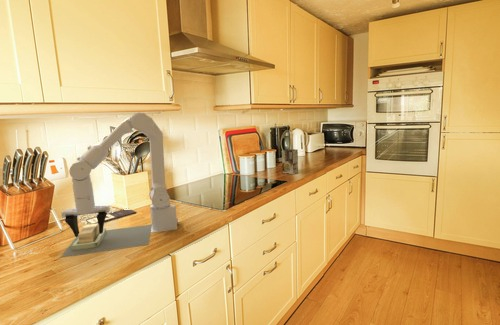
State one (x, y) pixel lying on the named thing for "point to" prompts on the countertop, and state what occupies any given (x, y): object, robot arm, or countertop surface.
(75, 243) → the sage frame
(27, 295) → the countertop surface
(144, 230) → the rubber mat
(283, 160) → the coffee box
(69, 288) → the countertop surface
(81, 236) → the birch block
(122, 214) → the chocolate bar
